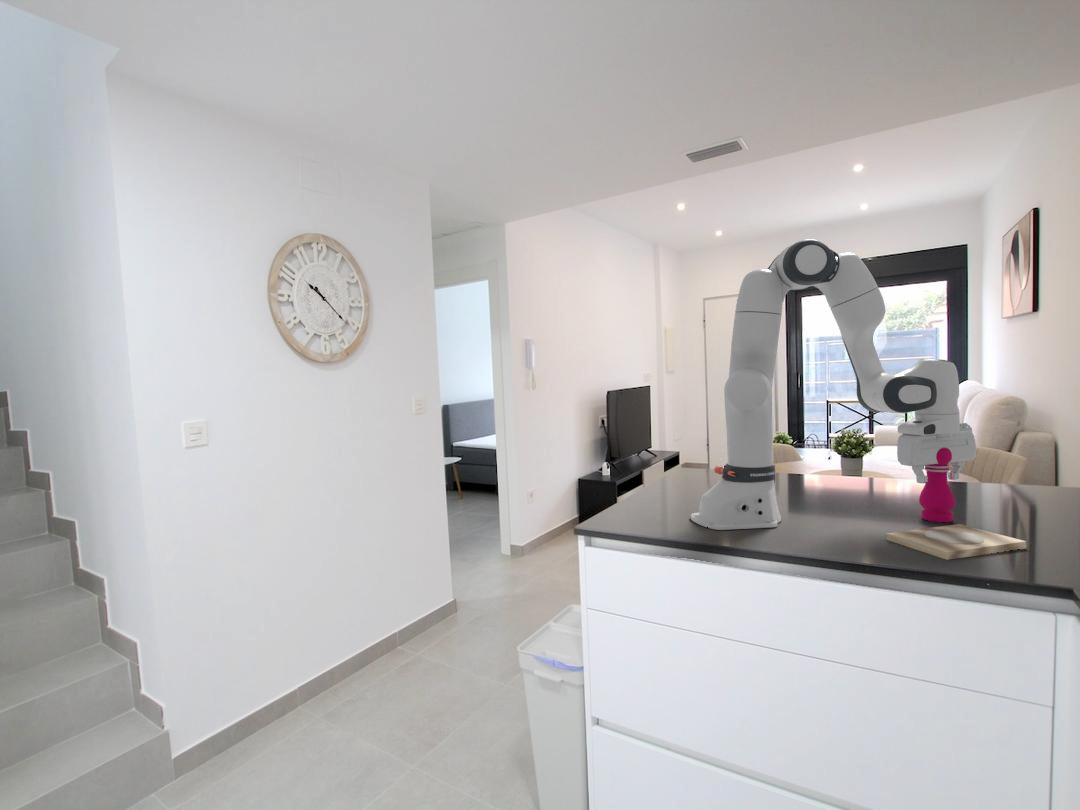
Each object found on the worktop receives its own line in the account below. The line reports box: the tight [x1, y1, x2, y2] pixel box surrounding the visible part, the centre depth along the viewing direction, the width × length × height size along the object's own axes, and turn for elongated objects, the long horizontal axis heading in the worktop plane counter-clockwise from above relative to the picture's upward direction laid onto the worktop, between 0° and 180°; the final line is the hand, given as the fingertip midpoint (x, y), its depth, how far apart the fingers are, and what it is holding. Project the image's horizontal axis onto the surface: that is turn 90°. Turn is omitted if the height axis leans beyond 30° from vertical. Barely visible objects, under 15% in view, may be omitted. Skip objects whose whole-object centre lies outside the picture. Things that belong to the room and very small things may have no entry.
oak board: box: [886, 523, 1027, 561], centre depth 116 cm, size 20×14×2 cm
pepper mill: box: [918, 448, 956, 523], centre depth 134 cm, size 7×7×20 cm
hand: (937, 481), depth 134 cm, fingers open, 8 cm apart
